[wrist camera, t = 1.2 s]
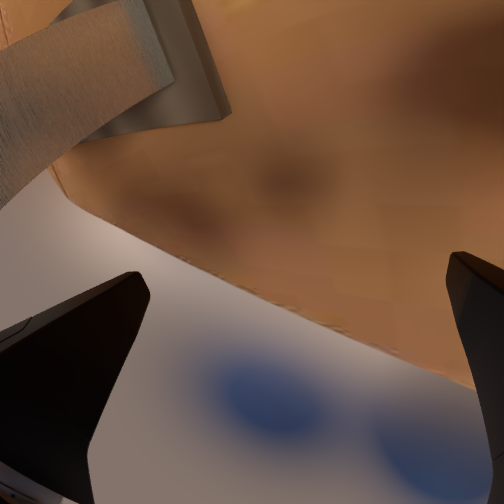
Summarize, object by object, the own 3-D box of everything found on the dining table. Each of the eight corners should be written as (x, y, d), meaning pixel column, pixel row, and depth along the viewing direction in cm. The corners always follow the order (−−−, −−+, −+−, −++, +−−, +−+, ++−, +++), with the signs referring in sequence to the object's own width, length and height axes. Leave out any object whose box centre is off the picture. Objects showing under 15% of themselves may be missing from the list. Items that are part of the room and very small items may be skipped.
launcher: (166, -63, 12) (25, -37, 6) (231, 112, 21) (130, 195, 16) (25, 57, 27) (-37, 98, 22) (66, 143, 36) (12, 188, 31)
